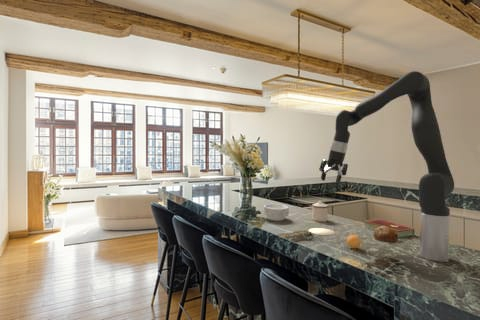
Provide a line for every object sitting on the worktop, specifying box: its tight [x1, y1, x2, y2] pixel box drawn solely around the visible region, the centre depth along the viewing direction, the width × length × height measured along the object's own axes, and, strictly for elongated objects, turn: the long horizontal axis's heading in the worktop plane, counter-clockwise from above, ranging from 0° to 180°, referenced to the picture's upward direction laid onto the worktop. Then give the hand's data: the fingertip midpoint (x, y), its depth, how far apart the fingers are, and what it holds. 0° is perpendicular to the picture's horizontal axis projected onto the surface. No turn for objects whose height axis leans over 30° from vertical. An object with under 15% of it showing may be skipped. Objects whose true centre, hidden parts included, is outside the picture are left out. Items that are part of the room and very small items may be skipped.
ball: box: [346, 234, 362, 250], centre depth 120 cm, size 6×6×6 cm
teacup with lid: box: [311, 200, 329, 223], centre depth 171 cm, size 12×9×12 cm
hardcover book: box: [363, 219, 415, 238], centre depth 148 cm, size 12×21×4 cm, turn 23°
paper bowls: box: [263, 203, 290, 222], centre depth 171 cm, size 15×15×8 cm
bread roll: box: [373, 226, 400, 243], centre depth 135 cm, size 10×10×8 cm
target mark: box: [308, 227, 336, 236], centre depth 145 cm, size 13×13×1 cm
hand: (330, 181), depth 144 cm, fingers open, 8 cm apart
